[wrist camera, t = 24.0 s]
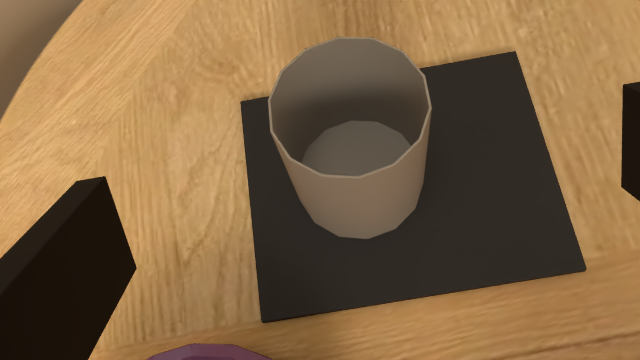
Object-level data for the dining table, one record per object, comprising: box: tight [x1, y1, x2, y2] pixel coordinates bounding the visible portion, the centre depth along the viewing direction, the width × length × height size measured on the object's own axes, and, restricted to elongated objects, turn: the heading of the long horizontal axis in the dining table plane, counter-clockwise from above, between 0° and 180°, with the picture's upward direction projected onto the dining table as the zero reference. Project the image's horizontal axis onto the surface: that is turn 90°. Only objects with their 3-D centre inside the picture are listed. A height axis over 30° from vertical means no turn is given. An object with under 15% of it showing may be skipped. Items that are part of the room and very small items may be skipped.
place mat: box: [240, 51, 586, 323], centre depth 39 cm, size 20×16×1 cm
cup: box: [268, 37, 432, 239], centre depth 35 cm, size 8×8×10 cm
